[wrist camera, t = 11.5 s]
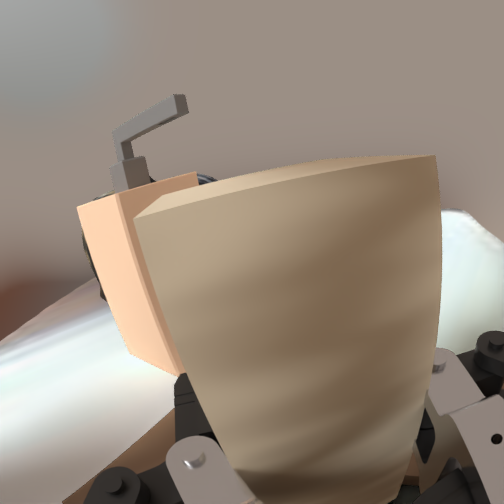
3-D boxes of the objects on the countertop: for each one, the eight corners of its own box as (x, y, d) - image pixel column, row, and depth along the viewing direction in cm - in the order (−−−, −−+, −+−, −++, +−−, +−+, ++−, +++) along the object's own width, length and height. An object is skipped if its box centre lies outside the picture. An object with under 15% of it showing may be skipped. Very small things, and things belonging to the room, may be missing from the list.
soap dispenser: (129, 353, 30) (62, 149, 23) (183, 316, 36) (133, 135, 30) (214, 392, 22) (128, 95, 16) (271, 335, 28) (218, 95, 22)
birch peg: (287, 572, 7) (91, 234, 3) (261, 497, 12) (149, 198, 8) (392, 531, 8) (467, 153, 4) (351, 465, 13) (328, 158, 9)
